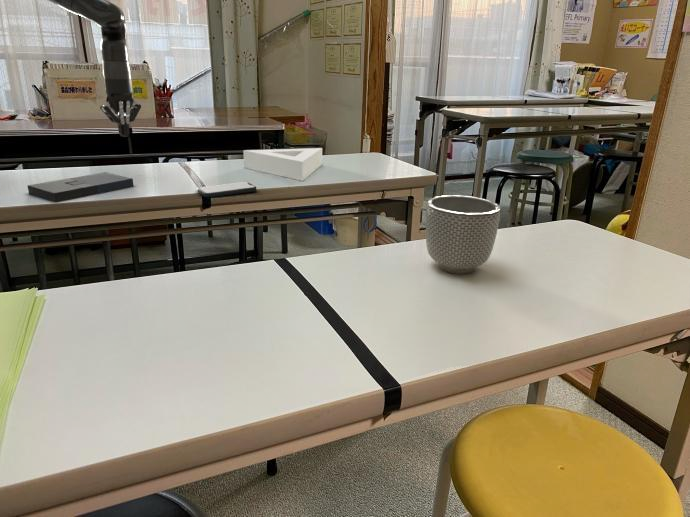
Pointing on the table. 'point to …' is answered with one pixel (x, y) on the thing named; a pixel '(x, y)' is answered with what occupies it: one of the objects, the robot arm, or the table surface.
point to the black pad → (61, 190)
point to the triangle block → (284, 161)
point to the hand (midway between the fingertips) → (124, 136)
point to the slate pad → (104, 181)
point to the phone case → (226, 189)
